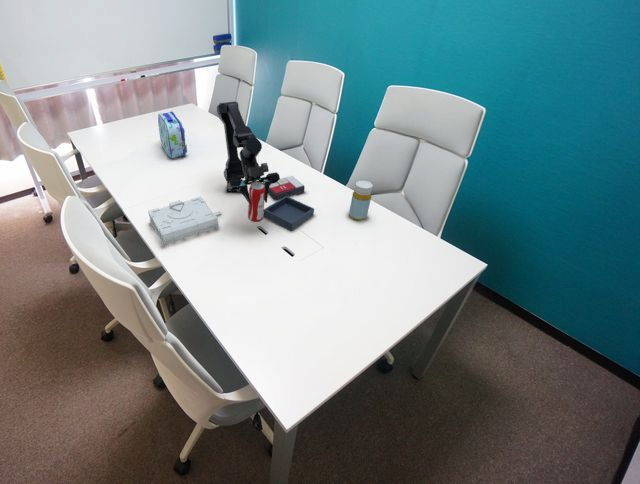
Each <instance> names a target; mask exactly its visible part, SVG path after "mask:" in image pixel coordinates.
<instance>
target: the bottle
mask: <svg viewBox="0 0 640 484" xmlns="http://www.w3.org/2000/svg"><path fill="white" fill-rule="evenodd" d="M373 186H374V185H373V184H372V182H371V181H368V180H358V181H356V182H355V186H354V190H353V192H352V195H351V200H350V205H349V211H348V216H349V217H350V219H352V220H354V221H358V222H359V221H360V222H361V221H364V220H365V219H367V218H368V213H369V210H370V205H371V200H372V190H373Z"/></svg>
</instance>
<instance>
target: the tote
mask: <svg viewBox="0 0 640 484" xmlns="http://www.w3.org/2000/svg"><path fill="white" fill-rule="evenodd" d="M314 215H315V208H314V207H311V206H309V205H307V204H305V203H303V202H300V201H298V200H297V199H294V198H293V197H291V196H289V197H288V196H285V197H284V198H282V199H279V200H276V201H275V202H274V203H272V204H270V205H269V206H266V207H264V212H263V218H266V219H267V220H269V221H271V222H273V223H275V224H277V225H279V226H281V227H283V228H285V229H286V230H287V231H290V232H292V231H295V229H297V228H298V227H299V226H301V225H303V224H304V223H305V222H307V221H309V219H311V218H313V217H314Z"/></svg>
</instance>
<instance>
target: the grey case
mask: <svg viewBox="0 0 640 484" xmlns="http://www.w3.org/2000/svg"><path fill="white" fill-rule="evenodd" d="M147 213H148V216H149V223H150V225H151V227H152V228H153V229H154V230H155V232H156V234H157V236H158V238H159V240H160V242H161V244H162V245H163V246H167V244H170V243H176V242H178V241H182V240H185V239H186V238H188V237H192V236H195V235H201V234H204V233H207V232H210V231H211V230H213V229H214V230H217V229H218V228H219V219H218V217H217V216H220V215H222V212H221V211H220V210H219V211H216V212H214V211H213V210H212V208H210V207H209V205H208V204H207V203H206V201H205V200H204V198H203V197H202V196H201V195H200V196H196V197H193V198H191V199H189V200H185V201H182V200H175V201H172V202H169V204H168V205H167V206H163V207H160V208H159V207H158V208H153V209H149V210H147Z"/></svg>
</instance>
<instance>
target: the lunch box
mask: <svg viewBox="0 0 640 484" xmlns="http://www.w3.org/2000/svg"><path fill="white" fill-rule="evenodd" d="M157 122H158V123H157V125H158V133H159V139H160V144H161V146H162V148H163V150H164V152H165V153H166V155H167V157H169V158H170V159H175V158H177V157H186V155H187V152H188V146H187V144H186V134H185V133H186V131H185V127H184V126H183V123H182V121H181V120H180V119H179V118H178V117H177V116H176V114H175V112H174V111H172V110H171V111H168V112H162V113H158V114H157Z"/></svg>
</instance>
